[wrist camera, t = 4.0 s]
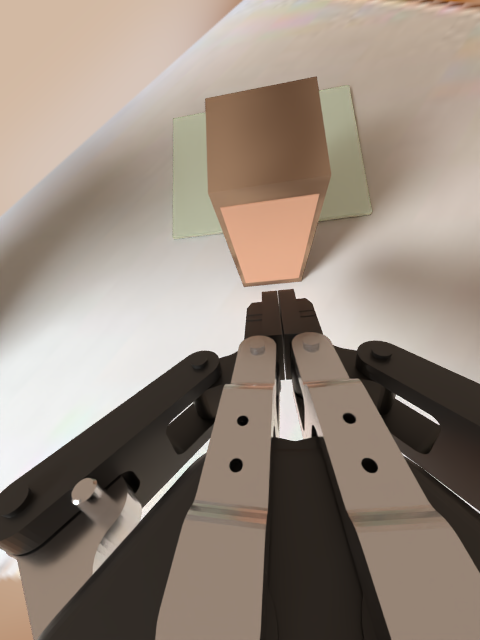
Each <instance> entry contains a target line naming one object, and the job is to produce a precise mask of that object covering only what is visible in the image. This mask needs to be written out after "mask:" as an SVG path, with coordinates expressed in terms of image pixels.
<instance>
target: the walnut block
mask: <svg viewBox="0 0 480 640" xmlns="http://www.w3.org/2000/svg"><path fill="white" fill-rule="evenodd" d="M205 107H206V143H207V178H208V195H209V197H210V200H211V202H212V205H213V208H214V210H215V213H216V215H217V218H218V221H219V223H220V226H221V229H222V231H223V234H224V236H225V239H226V242H227V244H228V247H229V249H230V252H231V255H232V257H233V260H234V262H235V265H236V268H237V270H238V273H239V275H240V278H241V281H242V283H243V286H244V287H248V286H259V285H269V284H279V283H290V282H300V281H301V280H302V277H303V273H304V270H305V266H306V263H307V259H308V256H309V252H310V249H311V245H312V241H313V238H314V234H315V231H316V227H317V224H318V220H319V217H320V213H321V210H322V206H323V203H324V199H325V196H326V192H327V189H328V185H329V182H330V178H331V168H330V162H329V155H328V148H327V142H326V135H325V128H324V122H323V115H322V108H321V101H320V95H319V88H318V81H317V77H312V78H307V79H302V80H297V81H292V82H287V83H281V84H276V85H271V86H266V87H261V88H256V89H251V90H246V91H241V92H236V93H231V94H226V95H221V96H216V97H211V98H206V99H205Z"/></svg>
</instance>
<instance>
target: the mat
mask: <svg viewBox="0 0 480 640" xmlns="http://www.w3.org/2000/svg"><path fill="white" fill-rule="evenodd" d="M319 95H320V101H321V108H322V115H323V122H324V128H325V135H326V142H327V148H328V155H329V162H330V168H331V178H330V182H329V185H328V189H327V192H326V196H325V199H324V203H323V206H322V210H321V213H320V217H319V220H318V221H324V220H332V219H340V218H348V217H356V216H363V215H371V213H372V208H371V202H370V197H369V191H368V186H367V180H366V175H365V169H364V164H363V159H362V153H361V148H360V142H359V137H358V131H357V126H356V120H355V115H354V109H353V104H352V98H351V93H350V87H349V85H345V86H340V87H335V88H330V89H325V90H319ZM221 233H223V231H222V229H221V226H220V223H219V221H218V218H217V215H216V213H215V210H214V208H213V205H212V202H211V200H210V197H209V195H208V178H207V143H206V112H205V113H199V114H194V115H189V116H184V117H178V118H173V238H174V239H181V238H189V237H197V236H205V235H213V234H221Z"/></svg>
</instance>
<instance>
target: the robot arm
mask: <svg viewBox="0 0 480 640" xmlns="http://www.w3.org/2000/svg"><path fill="white" fill-rule="evenodd" d="M278 299H279V304H278ZM283 354H284V356H283ZM284 363H285V372H286V380H288V379H292V383H293V397H294V401H295V406H296V410H297V414H298V419H299V423H300V427H301V431H302V436H303V440H300V441H290V440H286V439H282V438H279V433H280V391H281V381H280V380H285V374H284ZM396 394H397V395H398V396H400V397H402V398H403V399H405V400H407V401H408V402H410V403H412V404H413V405H415V406H417V407H418V408H420V409H422V410H423V411H425V412H427V413H428V414H430V415H432V416H433V417H434V418H435V419H436V420H437V421H438V422H439V424H440V425H438V424H436V423H434V422H433V421H431V420H429V419H428V418H426V417H424V416H423V415H421V414H420V413H418V412H416V411H415V410H413V409H411V408H410V407H408V406H406V405H405V404H403V403H401V402H400V401H398V400H397V399H395V396H396ZM192 402H193V404H192V405H191V406H190V407H189V408H187V409H186V410H185V411H184V412H183V413H182V414H181V415H179V416H178V417H177V418H176V419H175V420H174V421H173V422H171V421H172V420H173V419H174V418H175V417H176V416H177V415H178V414H180V413H181V412H182V411H183V410H184V409H185V408H186V407H188V406H189V405H190V404H191V403H192ZM170 422H171V423H170ZM169 423H170V424H169ZM209 439H210V442H209V446H208V450H207V453H205V454H204V455H202V456H201V457H200V458H198V459H197V460H196V461H195V462H194V463H193V464H192V465H191V466H190V467H189V468H188V469H187V470H186V471H185V472H184V473H183V474H182V476H181V477H180V478H179V479H178V480H177V481H176V482H175V483H174V484H173V486H172V487H171V488H170V489H169V490H168V491H167V492H166V493H165V494H164V496H163V497H162V498H161V499H160V500H159V501H158V502H157V503H156V504H155V506H154V507H153V508H152V509H151V510H150V511H149V512H148V513H147V515H146V516H145V517H144V518H143V519H142V520H141V521H140V519H141V513H142V508H143V507H144V506H145V505H146V504H147V503H148V502H149V501H150V500H151V499H152V497H153V496H154V495H155V494H156V493H157V492H158V491H159V490H160V489H161V488H162V487H163V486H164V485H165V484H166V483H167V482H168V481H169V480H170V479H171V478H172V477H173V476H174V475H175V474H176V473H177V472H178V471H179V470H180V469H181V468H182V467H183V466H184V465H185V463H186V462H187V461H188V460H189V459H190V458H191V457H192V456H193V455H194V454H195V453H196V452H197V451H198V450H199V449H200V448H201V447H202V446H203V445H204V444H205V443H206V442H207V441H208V440H209ZM401 452H402V453H403V454H404V455H406V456H407V457H408V458H410V459H411V460H412V461H411V460H409V459H408V458H406V457H405V456H403V455H402V453H401ZM413 461H414V462H415V463H414V462H413ZM417 464H418V465H419V466H418V465H417ZM421 467H422V468H423V469H422V468H421ZM425 470H426V471H427V472H428V473H427V472H426V471H425ZM429 473H430V474H431V475H432V476H431V475H430V474H429ZM433 476H434V477H435V478H436V479H438V480H439V481H440V482H442V483H443V484H444V485H446V486H447V487H448V488H449V489H451V490H452V491H453V492H455V493H456V494H457V495H459V496H460V497H461V498H463V499H464V500H465V501H467V502H468V503H469V504H471V505H472V506H473V507H475V508H476V509H477V510H479V511H480V384H479V383H476V382H474V381H472V380H470V379H468V378H465V377H463V376H461V375H459V374H457V373H454V372H452V371H450V370H448V369H446V368H443V367H441V366H439V365H437V364H435V363H432V362H430V361H428V360H426V359H424V358H421V357H419V356H417V355H415V354H413V353H410V352H408V351H406V350H404V349H402V348H399V347H397V346H395V345H393V344H390V343H387V342H383V341H368V342H365V343H363V344H361V345H360V346H359V347H358V350H357V351H356V350H349V349H343V348H339V347H336V346H334V345H332V343H331V341H330V339H329V338H328V337H326V336H325V335H323V333H322V330H321V327H320V324H319V321H318V318H317V316H316V313H315V311H314V307H313V304H312V303H311V302H310V301H309V300H307V299H306V298H303V299H296V297H295V293H294V289H289V290H278V296H277V291H268V292H262V302H257V303H251V305H250V306H249V307H248V308H247V316H246V326H245V338H244V341H242V342H241V344H240V346H239V349H238V351H237V352H236V353H234V354H232V355H229V356H226V357H222V358H219V357H218V356H217V355H216V354H215V353H214V352H211V351H199V352H195V353H193V354H191V355H189V356H188V357H186V358H185V359H184V360H182V361H181V362H179V363H178V364H177V365H175V366H174V367H172V368H171V369H170V370H168V371H167V372H166V373H164V374H163V375H161V376H160V377H159V378H157V379H156V380H154V381H153V382H152V383H150V384H149V385H148V386H146V387H145V388H143V389H142V390H141V391H139V392H138V393H136V394H135V395H134V396H132V397H131V398H129V399H128V400H127V401H125V402H124V403H123V404H121V405H120V406H118V407H117V408H116V409H114V410H113V411H111V412H110V413H109V414H107V415H106V416H105V417H103V418H102V419H100V420H99V421H98V422H96V423H95V424H93V425H92V426H91V427H89V428H88V429H86V430H85V431H84V432H82V433H81V434H80V435H78V436H77V437H75V438H74V439H73V440H71V441H70V442H68V443H67V444H66V445H64V446H63V447H62V448H60V449H59V450H57V451H56V452H55V453H53V454H52V455H50V456H49V457H48V458H46V459H45V460H43V461H42V462H41V463H39V464H38V465H37V466H35V467H34V468H32V469H31V470H30V471H28V472H27V473H25V474H24V475H23V476H21V477H20V478H19V479H17V480H16V481H14V482H13V483H12V484H10V485H9V486H8V487H7V488H6V489H4V490H3V491H2V492H1V493H0V549H2V550H4V551H6V553H7V554H8V555H9V556H11V557H13V558H15V559H16V560H17V562H18V566H19V571H20V576H21V581H22V586H23V590H24V595H25V600H26V605H27V609H28V615H29V620H30V625H31V630H32V635H33V639H34V640H480V514H479V513H478V512H477V511H476V510H474V509H473V508H472V507H470V506H469V505H468V504H467V503H465V502H464V501H463V500H462V499H460V498H459V497H458V496H457V495H455V494H454V493H453V492H452V491H450V490H449V489H448V488H446V487H445V486H444V485H443V484H441V483H440V482H439V481H438V480H436V479H435V478H434V477H433Z"/></svg>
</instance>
